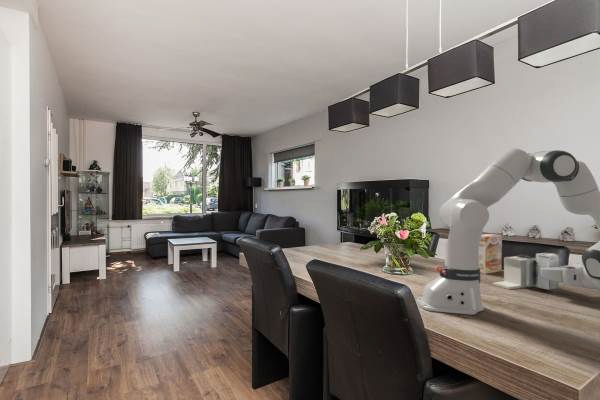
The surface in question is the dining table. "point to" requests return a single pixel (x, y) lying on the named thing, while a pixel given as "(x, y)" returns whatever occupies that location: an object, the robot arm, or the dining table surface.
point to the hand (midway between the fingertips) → (544, 268)
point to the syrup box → (546, 261)
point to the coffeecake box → (490, 253)
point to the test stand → (514, 273)
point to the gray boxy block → (530, 270)
